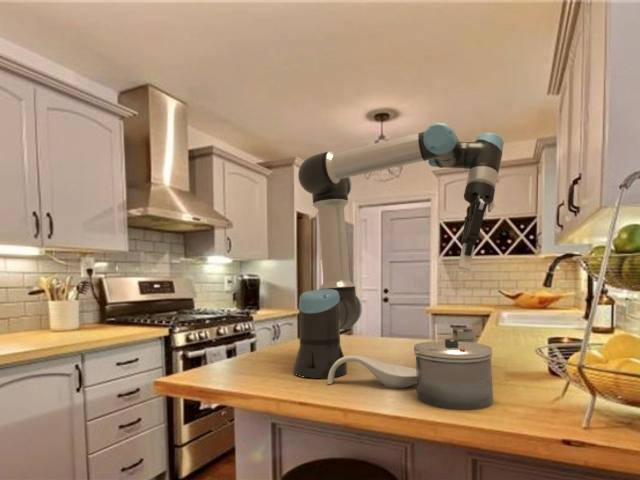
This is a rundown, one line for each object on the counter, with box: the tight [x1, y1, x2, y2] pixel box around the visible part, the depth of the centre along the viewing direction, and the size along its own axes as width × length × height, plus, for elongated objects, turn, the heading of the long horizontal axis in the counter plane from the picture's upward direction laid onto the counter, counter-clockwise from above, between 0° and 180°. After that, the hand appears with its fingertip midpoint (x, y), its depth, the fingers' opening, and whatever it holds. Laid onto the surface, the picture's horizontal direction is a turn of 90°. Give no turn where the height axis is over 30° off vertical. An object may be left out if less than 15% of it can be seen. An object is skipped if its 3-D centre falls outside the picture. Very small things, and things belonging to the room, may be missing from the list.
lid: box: [413, 338, 493, 359], centre depth 92 cm, size 17×17×3 cm
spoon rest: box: [327, 354, 417, 389], centre depth 104 cm, size 24×12×7 cm, turn 82°
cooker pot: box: [414, 352, 494, 411], centre depth 92 cm, size 18×16×10 cm
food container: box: [452, 327, 477, 343], centre depth 127 cm, size 12×6×10 cm, turn 168°
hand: (463, 268), depth 105 cm, fingers closed
